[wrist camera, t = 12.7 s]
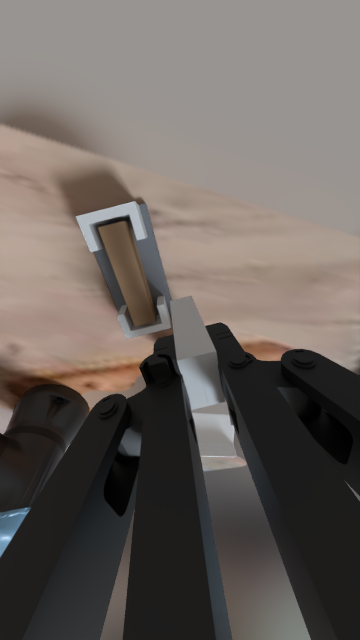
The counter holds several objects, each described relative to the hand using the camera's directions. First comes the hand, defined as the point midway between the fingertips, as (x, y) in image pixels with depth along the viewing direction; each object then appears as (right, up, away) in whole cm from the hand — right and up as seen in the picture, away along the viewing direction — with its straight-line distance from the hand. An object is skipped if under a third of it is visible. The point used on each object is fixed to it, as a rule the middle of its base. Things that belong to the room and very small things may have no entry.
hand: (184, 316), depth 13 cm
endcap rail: (-8, +8, +20) cm, 23 cm away
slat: (-8, +8, +19) cm, 22 cm away
